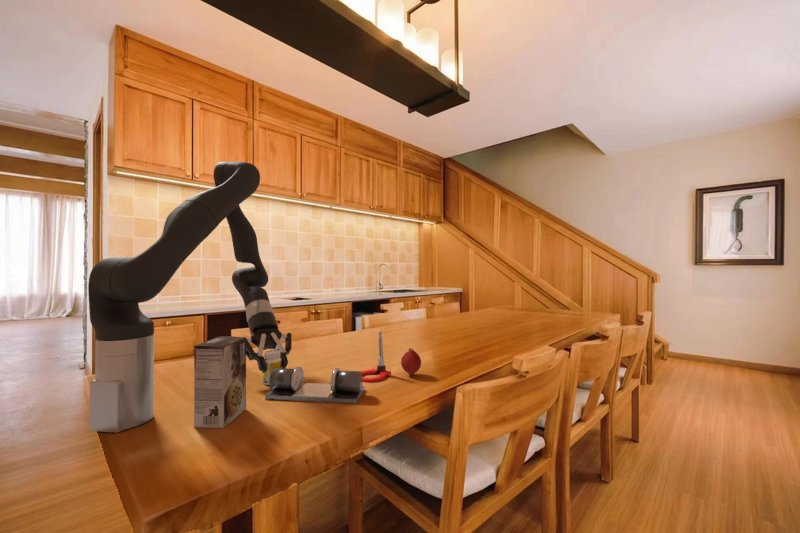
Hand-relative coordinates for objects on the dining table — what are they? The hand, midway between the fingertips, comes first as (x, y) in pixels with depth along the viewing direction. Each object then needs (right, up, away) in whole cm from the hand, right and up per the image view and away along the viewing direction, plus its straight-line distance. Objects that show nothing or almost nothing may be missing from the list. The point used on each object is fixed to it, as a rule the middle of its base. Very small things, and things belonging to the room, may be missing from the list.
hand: (274, 368), depth 91 cm
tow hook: (+26, -5, +6) cm, 27 cm away
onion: (+37, -5, +8) cm, 38 cm away
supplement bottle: (-1, -4, +1) cm, 5 cm away
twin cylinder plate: (+13, -4, -7) cm, 15 cm away
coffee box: (-4, -4, -20) cm, 21 cm away
